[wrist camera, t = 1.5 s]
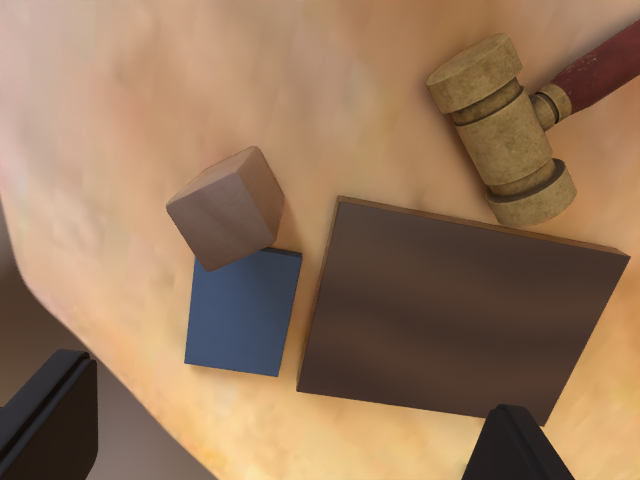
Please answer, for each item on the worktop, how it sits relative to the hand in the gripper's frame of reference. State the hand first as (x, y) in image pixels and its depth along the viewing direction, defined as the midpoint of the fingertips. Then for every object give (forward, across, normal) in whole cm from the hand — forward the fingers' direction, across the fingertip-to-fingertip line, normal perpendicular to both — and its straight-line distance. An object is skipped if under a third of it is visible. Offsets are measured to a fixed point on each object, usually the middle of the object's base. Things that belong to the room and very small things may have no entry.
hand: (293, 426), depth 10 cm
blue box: (+19, +3, +8) cm, 21 cm away
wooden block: (+19, +4, -1) cm, 19 cm away
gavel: (+19, -16, -12) cm, 28 cm away
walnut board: (+19, -12, +7) cm, 23 cm away
